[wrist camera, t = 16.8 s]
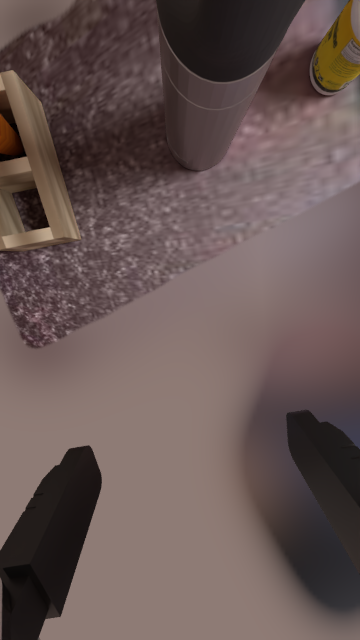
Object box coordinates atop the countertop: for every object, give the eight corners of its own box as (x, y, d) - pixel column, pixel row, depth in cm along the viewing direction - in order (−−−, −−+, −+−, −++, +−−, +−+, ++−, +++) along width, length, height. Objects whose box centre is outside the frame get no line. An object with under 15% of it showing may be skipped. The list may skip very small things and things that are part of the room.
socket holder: (41, 102, 30) (9, 66, 24) (81, 239, 35) (62, 236, 29) (-27, 117, 30) (-74, 85, 24) (22, 251, 35) (-8, 250, 29)
